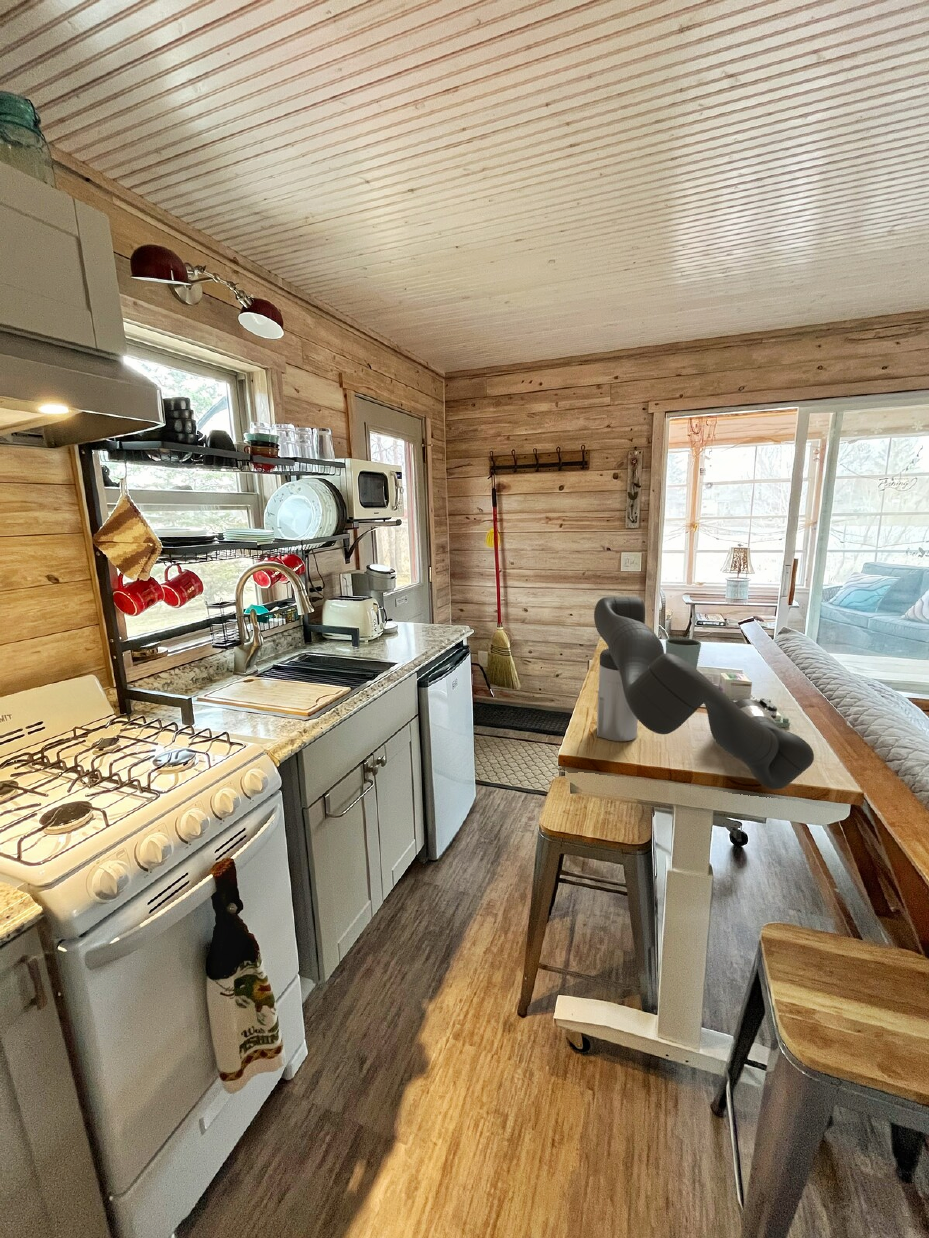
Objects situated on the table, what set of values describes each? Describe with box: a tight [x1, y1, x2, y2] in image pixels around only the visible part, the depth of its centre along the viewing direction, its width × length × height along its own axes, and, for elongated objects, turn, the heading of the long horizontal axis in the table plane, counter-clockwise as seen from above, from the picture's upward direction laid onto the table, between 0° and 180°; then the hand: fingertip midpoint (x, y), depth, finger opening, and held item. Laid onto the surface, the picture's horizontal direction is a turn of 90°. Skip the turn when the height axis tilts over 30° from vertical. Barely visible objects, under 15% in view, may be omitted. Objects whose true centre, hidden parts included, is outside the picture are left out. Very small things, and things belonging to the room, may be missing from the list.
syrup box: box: [718, 672, 753, 701], centre depth 122 cm, size 6×6×14 cm
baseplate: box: [757, 698, 791, 728], centre depth 135 cm, size 14×14×2 cm
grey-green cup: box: [665, 637, 702, 670], centre depth 163 cm, size 10×10×12 cm
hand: (730, 695), depth 124 cm, fingers closed on syrup box, 6 cm apart
